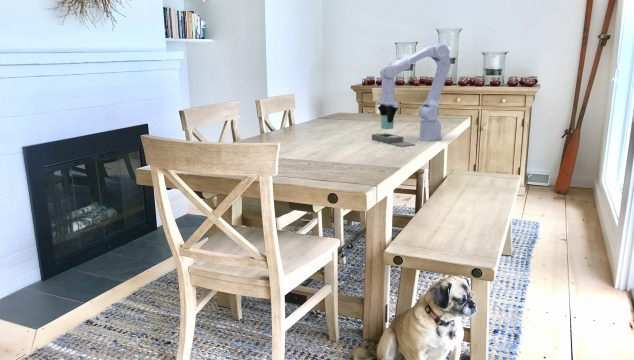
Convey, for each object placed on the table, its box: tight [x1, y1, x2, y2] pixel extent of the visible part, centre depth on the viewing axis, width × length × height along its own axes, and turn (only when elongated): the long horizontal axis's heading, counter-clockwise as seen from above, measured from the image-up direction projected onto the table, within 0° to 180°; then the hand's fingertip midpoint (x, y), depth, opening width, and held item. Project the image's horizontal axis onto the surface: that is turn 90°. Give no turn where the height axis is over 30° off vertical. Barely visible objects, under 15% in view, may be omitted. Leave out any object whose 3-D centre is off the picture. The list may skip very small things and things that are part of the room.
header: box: [371, 132, 404, 145], centre depth 246 cm, size 8×14×3 cm, turn 28°
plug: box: [380, 114, 394, 130], centre depth 244 cm, size 4×4×7 cm
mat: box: [389, 141, 416, 148], centre depth 236 cm, size 8×8×1 cm
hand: (387, 121), depth 244 cm, fingers closed on plug, 4 cm apart
